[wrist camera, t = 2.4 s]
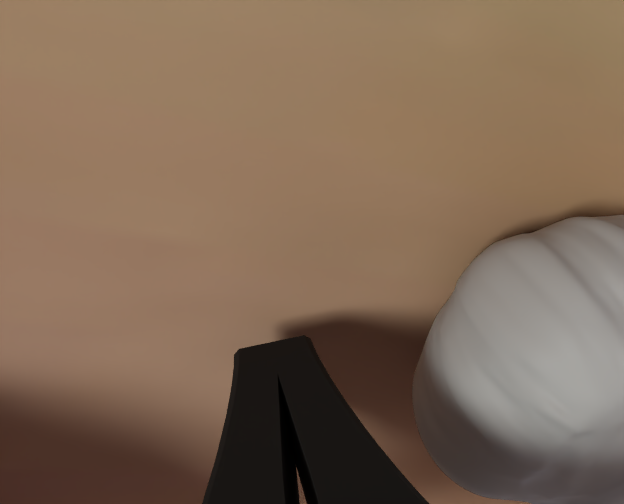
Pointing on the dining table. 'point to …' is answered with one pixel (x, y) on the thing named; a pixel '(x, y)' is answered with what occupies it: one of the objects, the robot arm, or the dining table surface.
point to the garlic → (531, 368)
